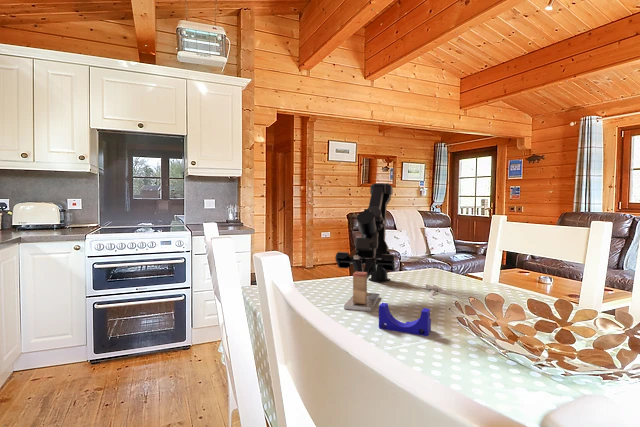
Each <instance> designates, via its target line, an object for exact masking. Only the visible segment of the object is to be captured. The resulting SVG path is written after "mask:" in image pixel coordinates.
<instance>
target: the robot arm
mask: <svg viewBox="0 0 640 427" xmlns="http://www.w3.org/2000/svg"><path fill="white" fill-rule="evenodd" d="M369 186H370V191H369V192H370V199H369V203H368V208H364V209H363V211H361V212H359V213H358V214H357V216H356V222H357V225H358V226H357V227H358V231H359V233H360V235H361V236H360V237H356V238H355V245H354V249H355V255H353V256H350V253H349V252H346V251H338V252H337V253H336V254H335V261H336V264H337V268H340V269H349V268H351V265H353V266H352V267H353V269H354V271H355V272H367V281H371V282H376V283H384V282H389V281H391V280H392V279H391V278H388V272H395V271H396V258H395V255H394V254H392V253H391V251H390V249H389V248H390V247H389V246H388V244H387V242H386V225H387V224H386V223H387V208H388V207H387V206H388V204H390V201H391V199H392V195H393V192H394V189H393V185H391V184H390V183H387V182H386V183H384V182H383V183H382V182H381V183H372V184H371V185H369ZM363 265H364V266H363ZM369 277H370V278H369Z"/></svg>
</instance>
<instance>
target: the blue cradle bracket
mask: <svg viewBox="0 0 640 427" xmlns="http://www.w3.org/2000/svg"><path fill="white" fill-rule="evenodd" d="M378 329H381V330H387V331H392V332H399V333H403V334H404V333H405V334H411V335H416V336H417V335H418V336H423V337H429V334H430V333H431V329H432V319H431V309H430V308H427V307H424V308H422V310H421V311H420V317H419V318H417V319H415V320H412V321H406V322H402V321H400V320H398V319H396V318H395V317H394V315H393V314H392V313H391V311H390V308H389V303H387V302H381V303H380V304H379V305H378Z"/></svg>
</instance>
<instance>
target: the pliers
mask: <svg viewBox="0 0 640 427" xmlns="http://www.w3.org/2000/svg"><path fill="white" fill-rule="evenodd" d="M425 288H426V289H427V290H428V291H429V292H428V293H427V295H428V297H429V298H431V299H433V300H436V297H434V296H436V295H438V293H440V295H441V294H442V295H447V296H448V295H449V296H453V297H456V298H458V299H462V297H461V296H460V295H459V294H457V293H453V292H451V291H445V290H443V289H442V287H440V286H437V285H436V284H432V285H429V284H427V283H426V284H425ZM435 292H436V293H435Z"/></svg>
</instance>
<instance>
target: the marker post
mask: <svg viewBox="0 0 640 427" xmlns="http://www.w3.org/2000/svg"><path fill="white" fill-rule="evenodd" d="M367 293H368V279H367V272H358V271H355V272H353V274H352V296H353V303H359V304H365V303H366V301H367Z"/></svg>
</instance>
